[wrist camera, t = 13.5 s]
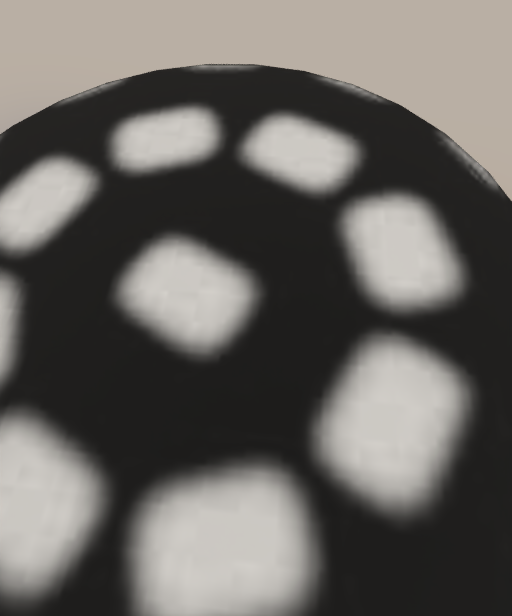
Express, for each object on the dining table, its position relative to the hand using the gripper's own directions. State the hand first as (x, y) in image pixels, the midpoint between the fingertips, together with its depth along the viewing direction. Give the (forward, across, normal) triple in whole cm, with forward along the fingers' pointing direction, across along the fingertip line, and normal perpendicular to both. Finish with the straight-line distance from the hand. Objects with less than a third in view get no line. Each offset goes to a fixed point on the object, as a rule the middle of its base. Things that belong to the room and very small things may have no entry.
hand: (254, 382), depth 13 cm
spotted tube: (+7, 0, -8) cm, 11 cm away
